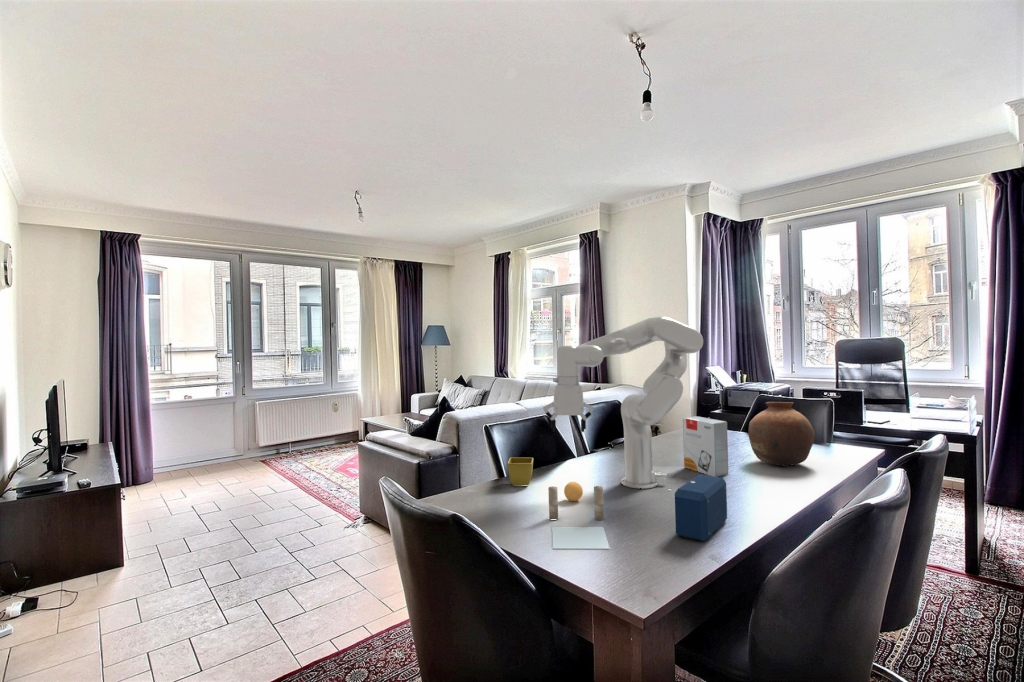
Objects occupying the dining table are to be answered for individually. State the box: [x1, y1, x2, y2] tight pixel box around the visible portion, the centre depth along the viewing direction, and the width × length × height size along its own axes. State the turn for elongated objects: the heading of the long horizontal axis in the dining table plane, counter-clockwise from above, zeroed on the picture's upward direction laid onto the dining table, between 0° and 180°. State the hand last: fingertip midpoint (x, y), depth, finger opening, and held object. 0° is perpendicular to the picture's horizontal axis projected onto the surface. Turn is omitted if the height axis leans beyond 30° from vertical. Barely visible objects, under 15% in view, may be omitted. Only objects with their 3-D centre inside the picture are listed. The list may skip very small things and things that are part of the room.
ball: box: [563, 481, 584, 502], centre depth 159 cm, size 6×6×6 cm
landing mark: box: [551, 526, 611, 550], centre depth 129 cm, size 14×14×1 cm
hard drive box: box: [682, 415, 729, 477], centre depth 189 cm, size 16×8×20 cm, turn 25°
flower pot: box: [507, 457, 534, 486], centre depth 178 cm, size 9×9×9 cm
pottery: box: [748, 401, 816, 467], centre depth 195 cm, size 23×23×25 cm
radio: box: [674, 451, 728, 542], centre depth 133 cm, size 21×9×20 cm, turn 141°
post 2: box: [593, 485, 605, 521], centre depth 142 cm, size 3×3×9 cm
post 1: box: [547, 485, 559, 520], centre depth 143 cm, size 3×3×9 cm
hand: (568, 431), depth 169 cm, fingers open, 9 cm apart
